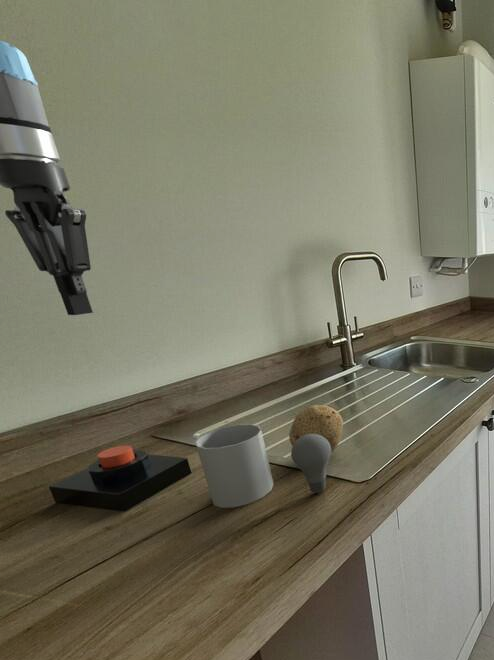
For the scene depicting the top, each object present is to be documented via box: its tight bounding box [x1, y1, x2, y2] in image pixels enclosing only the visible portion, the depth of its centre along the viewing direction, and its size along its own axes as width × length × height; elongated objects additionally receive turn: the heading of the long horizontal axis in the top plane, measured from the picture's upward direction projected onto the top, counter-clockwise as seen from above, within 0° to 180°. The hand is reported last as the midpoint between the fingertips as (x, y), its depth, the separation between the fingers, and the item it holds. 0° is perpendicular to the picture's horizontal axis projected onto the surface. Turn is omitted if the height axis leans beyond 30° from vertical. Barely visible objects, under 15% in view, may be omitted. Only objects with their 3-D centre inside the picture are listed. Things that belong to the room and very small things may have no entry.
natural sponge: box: [288, 404, 344, 454], centre depth 75 cm, size 9×9×10 cm
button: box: [97, 445, 135, 468], centre depth 65 cm, size 4×4×2 cm
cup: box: [195, 423, 275, 509], centre depth 64 cm, size 8×8×10 cm
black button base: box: [48, 449, 192, 513], centre depth 66 cm, size 13×11×5 cm
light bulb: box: [290, 434, 332, 494], centre depth 64 cm, size 6×6×10 cm
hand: (80, 313), depth 71 cm, fingers closed
